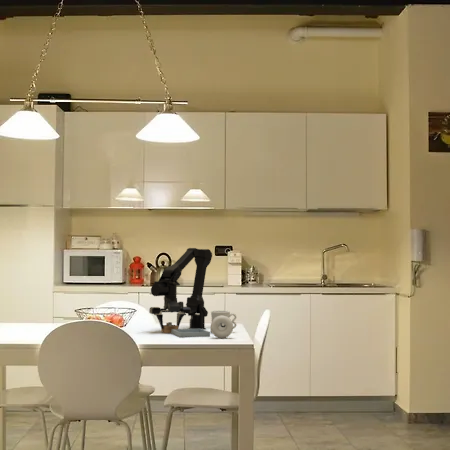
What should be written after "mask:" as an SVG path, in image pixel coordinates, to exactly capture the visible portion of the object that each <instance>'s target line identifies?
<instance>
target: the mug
mask: <svg viewBox="0 0 450 450" xmlns="http://www.w3.org/2000/svg"><path fill="white" fill-rule="evenodd" d="M210 313H211V314H210V315H211V322H212V321H213V319H214V318H215V317H217V316H226V317H228V318H229V319H230V318H231V316H233V318H232V319H231V321H232V323H233V330H234V329H235V328H236V327H237V323H236V322H235V321H236V319H237V315H236V314H235V313H233V312H231V311H228V310H211V311H210ZM218 328H219V330H221V331H223V330H225V328H226V326H225V324H224V323H220V324H219V325H218ZM210 333H212V331H211V330H210Z"/></svg>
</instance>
